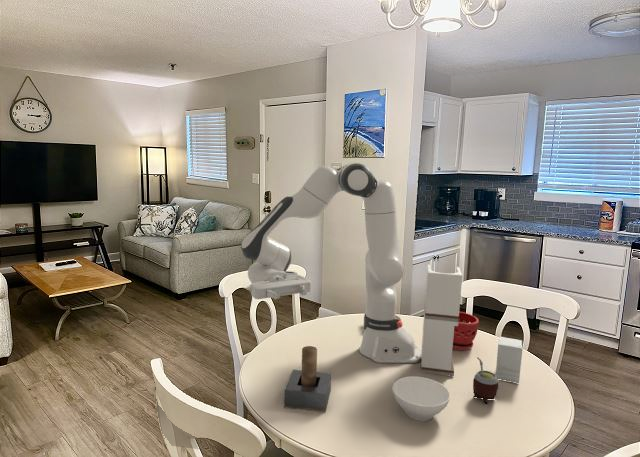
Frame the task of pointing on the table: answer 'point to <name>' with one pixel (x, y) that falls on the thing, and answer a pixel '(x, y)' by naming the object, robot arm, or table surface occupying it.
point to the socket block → (307, 392)
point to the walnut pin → (309, 366)
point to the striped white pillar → (440, 321)
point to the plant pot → (465, 331)
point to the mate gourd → (485, 384)
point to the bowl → (420, 397)
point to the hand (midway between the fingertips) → (291, 294)
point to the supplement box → (509, 359)
